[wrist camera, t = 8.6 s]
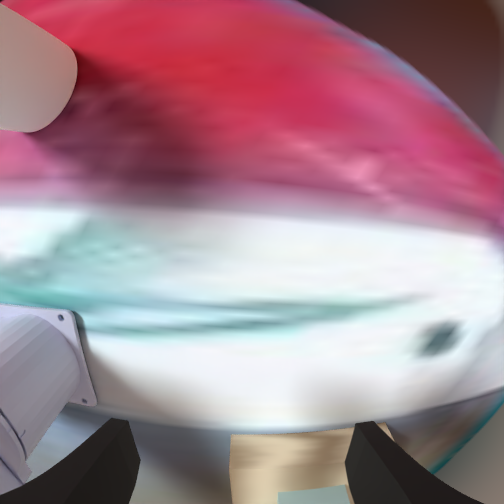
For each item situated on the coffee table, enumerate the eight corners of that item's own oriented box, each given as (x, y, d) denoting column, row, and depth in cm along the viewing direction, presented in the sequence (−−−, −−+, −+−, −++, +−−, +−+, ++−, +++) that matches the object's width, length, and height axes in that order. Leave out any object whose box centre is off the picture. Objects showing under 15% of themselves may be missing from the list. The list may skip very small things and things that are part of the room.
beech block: (237, 506, 24) (236, 536, 20) (231, 430, 21) (229, 469, 17) (354, 496, 24) (363, 524, 20) (383, 418, 21) (399, 451, 18)
